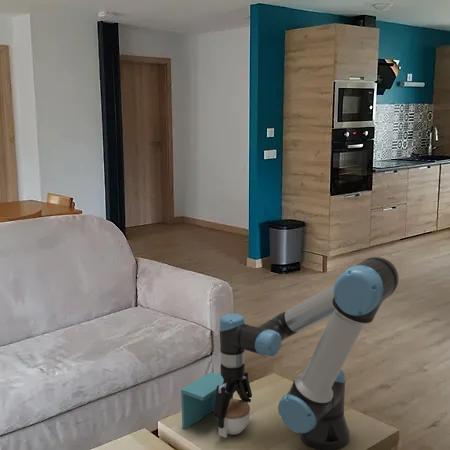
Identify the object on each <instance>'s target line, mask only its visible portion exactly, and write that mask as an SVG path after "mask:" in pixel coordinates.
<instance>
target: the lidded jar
mask: <svg viewBox="0 0 450 450" xmlns="http://www.w3.org/2000/svg"><path fill="white" fill-rule="evenodd" d="M250 411H251V405H249V402H248V403H247V402H245V401H242V400H241V399H238V398H233V399H230V402H229V405H228V409H227V412H226V415H225V417H227V435H238V434H240V433H242V432H243V431H244V430H245V429H246V428H247V426H248V424H249V422H250V421H249V420H250ZM216 421H217V422H218V419H216Z"/></svg>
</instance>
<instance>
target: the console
mask: <svg viewBox="0 0 450 450" xmlns="http://www.w3.org/2000/svg"><path fill="white" fill-rule="evenodd" d="M223 380H224V379H223V377H222V376H221V373H216V372H212V371H210V372H208V373H207V374H205V375H203V376H201V377H200V378H198V379H197V380H195V381H192V382H191V383H189V384H188V385H187V386H185V387H183V388H181V389H180V394H181V395H180V397H181V399H180V400H181V423H182V424H181V425H182V426H181V427H182V430H186V429H188V427H190V426H191V425H193V424H195V423H196V422H198V421H199V420H200V419H202V418H203V417H205V416H206V415H208V414H209V413H211V412H212V411H213V412H214V406H215V401H216V395H217V386H221V385H223ZM226 393H228V392H227V391H226ZM228 394H230V393H228ZM231 399H234V396H233V397H231Z"/></svg>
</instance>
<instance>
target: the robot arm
mask: <svg viewBox="0 0 450 450" xmlns="http://www.w3.org/2000/svg"><path fill="white" fill-rule="evenodd" d="M398 285H399V273H398V270H397V268H396V266H395V265H394V264H393V263H392V262H391V260H388V259H386V258H384V257H380V256H373V257H368V258H366V259H364V260H362V261H361V262H359V263H357V264H356V265H354V266H350V267H349V268H347V269H346V270H344V271H343V272H342V273H341V274H340V275H339V277H337V279H336V281H335V282H334V284H333V285H331V286H329V287H328V288H326V289H324V290H321V292H318V293H316V294H314V295H313V296H311V297H309V298H307V299H305V300H304V301H301V302H300V303H298V304H296V305H294V306H293V307H290V308H289V309H287V310H286V311H284V312H283V311H282V312H281V313H279V314H277V315H275V316H274V317H272V318H271V319H269V320H267V321H266V322H264V323H263V324H260V325H259V326H254V325H250V324H247V323H245V318H244V316H243V315H241V314H239V313H227V314H224V315H222V316H221V317H220V320H219V330H218V332H219V342H220V346H219V347H220V375H221V376H222V377H223V379H224V380H223V385H221V386H217V395H216V401H215V406H214V411H213V413H212V418H215V419H216V420H217V419H218V421H217V427H218V436H220V437H223V438H225V439H227V438H228V433H227V417H225V415H226V412H227V409H228V405H229V402H230V399H231V397H233V398H234V393H235V392H236V393H237V394H238V396H239V398H240V400H242V401H245V402H247V403H248V404H249V403H251V401H252V399H251V398H252V397H253V393H252V389H251V385H250V381H249V372H247V371H245V369H246V368H245V367H246V365H245V361H246V360H245V359H246V358H245V351H246V352H247V351H248V352H251V353H255V354H258V355H261V356H268V357H274V356H276V355H278V352H279V351H280V350H281V346H282V342H283V341H284V340H287V339H288V338H290V337H292V336H294V335H296V334H297V333H299V332H302V331H303V330H306V329H308V328H309V327H311V326H314V325H315V324H317V323H319V322H321V321H323V320H325V319H327V318H329V319H328V322H327V324H326V325H325V328H324V330H323V332H322V335H321V336H320V338H319V340H318V343H317V344H316V346H315V349H314V351H313V352H312V353H313V354H312V355H311V357H310V359H309V362H308V364H307V365H306V368H305V370H304V372H301V373H299V374H297V375H296V377H295V378H294V380H293V382H292V385H291V386H290V388H289V390H288V392H287V393H286V394H285V395H283V396H282V397H281V399H280V400H279V402H278V407H277V408H278V409H277V410H278V415H279V416H280V419H281V420H282V422H283V423H284V425H285V426H286V427H287V428H288V429H290V430H291V431H293V432H295V433H297V434H299V436H300V439H301V441H302V442H303V443H304V444H305V445H306V446H309V447H311V448H314V449H317V450H338V449H341V448H344V447H345V446H346V445H347V444H348V443H349V441H350V430H349V426H348V423H347V420H346V418H345V417H346V416H345V396H346V395H345V393H346V392H345V390H346V389H345V388H346V379H345V377H346V376H345V372H344V371H343V369H342V368H343V366H344V364H345V362H346V360H347V358H348V356H349V354H350V352H351V350H352V348H353V347H354V344H355V342H356V340H357V339H358V337H359V334H360V333H361V331H362V329H363V328H364V325H369V324H371V323H372V322H373V320H374V319H375V316H376V315H377V313H378V311H379V309H380V307H381V305H382V303H383V302H384V301H385V300H386V299H388V298H389V297H390V296H392V294H393V293H394V292H395V291H396V290H397V289H398V288H397V287H398ZM226 391H227V392H228V393H230V394H228V393H226Z"/></svg>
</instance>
